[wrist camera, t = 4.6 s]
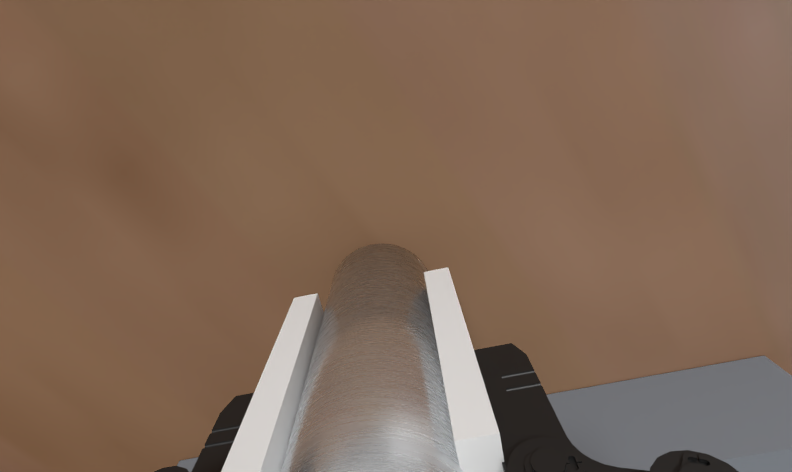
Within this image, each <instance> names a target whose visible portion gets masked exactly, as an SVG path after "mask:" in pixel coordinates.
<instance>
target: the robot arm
mask: <svg viewBox="0 0 792 472" xmlns="http://www.w3.org/2000/svg"><path fill="white" fill-rule="evenodd" d="M424 276H425V282H426V287H427V293H428V298H429V304H430V309H431V315H432V320H433V326H434V332H435V337H436V343H437V348H438V354H439V359H440V365H441V370H442V376H443V382H444V387H445V393H446V398H447V404H448V409H449V415H450V420H451V426H452V431H453V437H454V442H455V447H456V452H457V456H458V461H459V466H460V468H461V469H462V470H463V472H738V471H737V470H736V469H735V468H733V467H732V466H731V465H729V464H728V463H726V462H724V461H722V460H719V459H717V458H715V457H713V456H711V455H709V454H705V453H700V452H695V451H690V450H682V451H670V452H668V453H666V454H663V455H661V456H659V457H657V459H656V460H655V461H654V463H653V464H652V466H651V467H650V471H646V470H638V469H629V468H620V467H615V466H610V465H605V464H603V463H600V462H598V461H595V460H593V459H591V458H589V457H588V456H586V455H584V454H583V453H581V452H580V451H579V450H578V449H577V448H576V447H575V446H574V445H572V443H571V442H570V440H569V439H568V437H567V436H566V434H565V432H564V430H563V428H562V426H561V424H560V422H559V420H558V418H557V416H556V413H555V411H554V409H553V407H552V405H551V403H550V401H549V399H548V397H547V395H546V393H545V391H544V389H543V387H542V386H541V384H540V381H539V379H538V377H537V375H536V373H535V372H534V369H533V367H532V365H531V363H530V361H529V359H528V357H527V355H526V354H525V353H524V352H522V351H521V350H520V349H518V348H517V347H516V346H514V345H513V344H512V343H510V344H505V345H500V346H494V347H489V348H484V349H478V350H474V349H473V346H472V343H471V339H470V336H469V333H468V330H467V326H466V323H465V320H464V317H463V314H462V310H461V307H460V304H459V301H458V298H457V294H456V291H455V288H454V285H453V281H452V278H451V275H450V272H449V269H448V267H447V268H442V269H437V270H432V271H427V272H424ZM323 315H324V312H323V309H322V306H321V302H320V299H319V296H318V293H316V294H311V295H306V296H301V297H296V298H294V300H293V302H292V304H291V307H290V309H289V311H288V314H287V316H286V319H285V321H284V323H283V326H282V328H281V330H280V333H279V335H278V338H277V340H276V342H275V345H274V347H273V349H272V352H271V354H270V357H269V359H268V361H267V364H266V366H265V368H264V371H263V373H262V376H261V378H260V380H259V383H258V385H257V387H256V390H255V392H254V393H250V394H245V395H240V396H236V397H235V398H234V399H233V400H232V401H231V402H230V403H229V404H228V405H227V406H226V407H225V409H224V410H223V411H222V412H221V413H220V415H219V417H218V419H217V421H216V423H215V425H214V427H213V429H212V433H211V434H210V435H209V437H208V439H207V441H206V443H205V448H204V449H202V451H201V453H200V455H199V457H198V459H197V461H196V463H195V465H194V467H193V469H192V471H191V472H281V470H282V466H283V463H284V459H285V455H286V452H287V448H288V444H289V440H290V437H291V433H292V429H293V426H294V422H295V418H296V415H297V411H298V407H299V404H300V400H301V396H302V392H303V389H304V385H305V381H306V378H307V374H308V370H309V367H310V363H311V359H312V356H313V352H314V348H315V344H316V341H317V337H318V333H319V330H320V326H321V322H322V319H323ZM155 472H189V471H188V470H187V469H186V468H183V467H179V466H172V467H166V468H162V469H160V470H157V471H155Z"/></svg>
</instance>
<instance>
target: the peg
mask: <svg viewBox="0 0 792 472" xmlns="http://www.w3.org/2000/svg"><path fill="white" fill-rule="evenodd" d="M427 271H428V270H427V268H426V267H425V265H424V264H423V262H422V261H421V260H420V259H419V258H418V257H417V256H416V255H414V254H413V253H412V252H410V251H408V250H406V249H404V248H402V247H399V246H396V245H391V244H373V245H368V246H365V247H362V248H360V249H358V250H356V251H354V252H352V253H351V254H350V255H348V256H347V257H346V258H345V259H344V260H343V261H342V262H341V264H340V265H339V267H338V268H337V270H336V272H335V275H334V278H333V282H332V285H331V289H330V293H329V296H328V300H327V304H326V308H325V311H324V315H323V319H322V322H321V326H320V330H319V333H318V337H317V341H316V344H315V348H314V352H313V356H312V359H311V363H310V367H309V370H308V374H307V378H306V381H305V385H304V389H303V392H302V396H301V400H300V404H299V407H298V411H297V415H296V418H295V422H294V426H293V429H292V433H291V437H290V440H289V444H288V448H287V452H286V455H285V459H284V463H283V466H282V470H281V472H463V470H462V469H461V468H460V466H459V461H458V456H457V452H456V447H455V442H454V437H453V431H452V426H451V420H450V415H449V409H448V404H447V398H446V393H445V387H444V382H443V376H442V370H441V365H440V359H439V354H438V348H437V343H436V337H435V332H434V326H433V320H432V315H431V309H430V304H429V298H428V293H427V287H426V282H425V276H424V272H427Z"/></svg>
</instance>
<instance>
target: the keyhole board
mask: <svg viewBox="0 0 792 472" xmlns="http://www.w3.org/2000/svg"><path fill="white" fill-rule="evenodd" d="M547 397H548V399H549V401H550V403H551V405H552V407H553V409H554V411H555V413H556V416H557V418H558V420H559V422H560V424H561V426H562V428H563V430H564V432H565V434H566V436H567V437H568V439H569V440H570V442H571V443H572V445H574V446H575V447H576V448H577V449H578V450H579V451H580V452H581V453H583V454H584V455H586V456H588V457H589V458H591V459H593V460H595V461H598V462H600V463H603V464H605V465H610V466H615V467H620V468H629V469H638V470H646V471H650V467H651V466H652V464H653V463H654V461H655V460H656V459H657V457H659V456H661V455H663V454H666V453H668V452H670V451H682V450H690V451H695V452H700V453H705V454H709V455H711V456H713V457H715V458H717V459H719V460H722V461H724V462H726V463H728V464H729V465H731V466H732V467H733V468H735V469H736V470H737V471H738V472H792V376H791V375H790V374H788V373H787V372H786V371H784V370H783V369H782V368H780V367H779V366H778V365H776V364H775V363H774V362H772V361H771V360H770V359H768V358H767V357H766V356H759V357H754V358H748V359H743V360H737V361H732V362H726V363H721V364H715V365H709V366H704V367H698V368H693V369H687V370H682V371H676V372H671V373H665V374H659V375H654V376H648V377H643V378H637V379H632V380H626V381H620V382H615V383H609V384H604V385H598V386H593V387H587V388H582V389H576V390H570V391H565V392H559V393H554V394H548V395H547ZM197 459H198V458H192V459H187V460H181V461H179V463H178V465H177V466H179V467H183V468H186V469H187V470H188V471H189V472H191V471H192V469H193V467H194V465H195V463H196V461H197Z"/></svg>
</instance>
